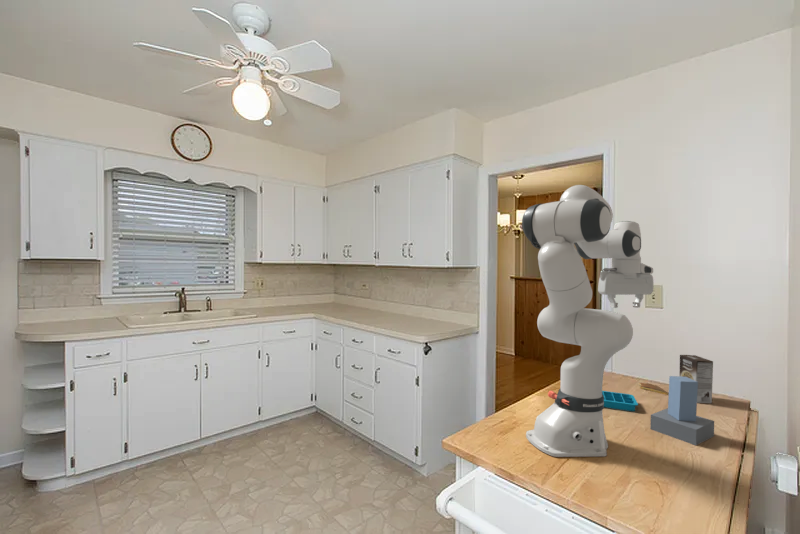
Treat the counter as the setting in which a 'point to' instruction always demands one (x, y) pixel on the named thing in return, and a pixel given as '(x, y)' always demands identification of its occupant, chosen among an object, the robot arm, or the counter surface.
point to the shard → (652, 388)
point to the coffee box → (698, 375)
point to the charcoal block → (682, 427)
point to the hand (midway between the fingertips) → (625, 307)
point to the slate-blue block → (682, 398)
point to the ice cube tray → (619, 401)
